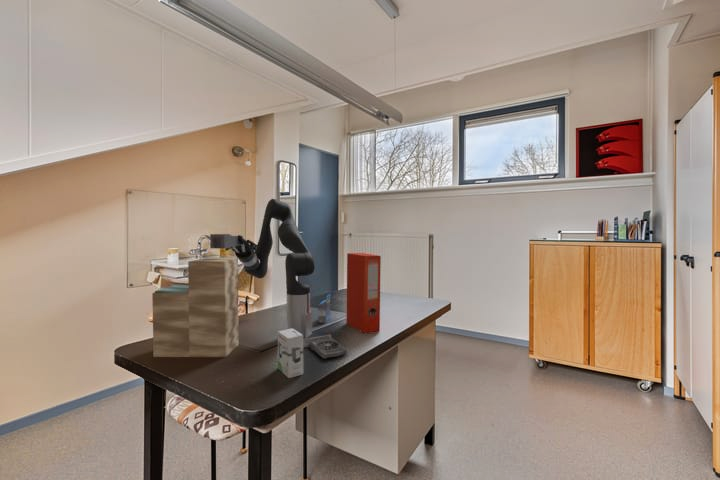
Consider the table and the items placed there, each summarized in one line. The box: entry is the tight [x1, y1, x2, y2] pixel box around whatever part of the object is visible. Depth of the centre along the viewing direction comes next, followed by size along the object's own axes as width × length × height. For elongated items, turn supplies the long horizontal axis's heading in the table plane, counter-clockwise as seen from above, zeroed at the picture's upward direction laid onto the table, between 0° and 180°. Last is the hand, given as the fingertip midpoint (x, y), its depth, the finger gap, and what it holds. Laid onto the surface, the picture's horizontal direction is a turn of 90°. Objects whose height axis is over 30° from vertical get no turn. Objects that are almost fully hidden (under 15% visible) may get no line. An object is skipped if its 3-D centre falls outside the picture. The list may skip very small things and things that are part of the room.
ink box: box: [277, 328, 304, 379], centre depth 99 cm, size 9×5×12 cm, turn 36°
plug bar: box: [209, 233, 244, 249], centre depth 128 cm, size 22×5×5 cm, turn 1°
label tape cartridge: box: [317, 292, 332, 324], centre depth 154 cm, size 9×4×12 cm, turn 172°
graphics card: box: [303, 334, 348, 359], centre depth 115 cm, size 17×4×12 cm
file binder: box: [346, 252, 382, 335], centre depth 143 cm, size 8×17×32 cm, turn 25°
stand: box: [151, 257, 240, 358], centre depth 115 cm, size 12×24×32 cm, turn 90°
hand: (234, 237), depth 133 cm, fingers closed on plug bar, 3 cm apart
